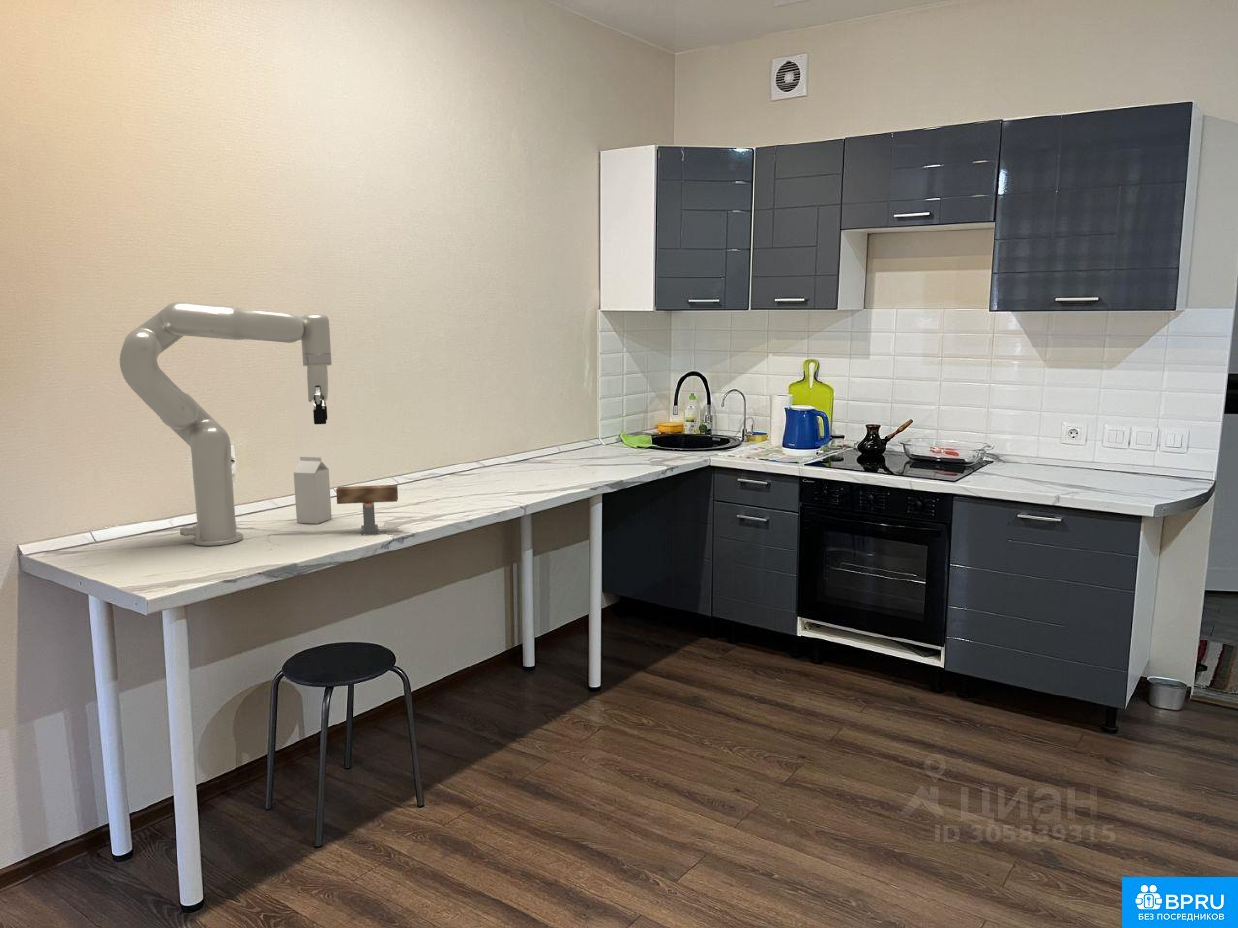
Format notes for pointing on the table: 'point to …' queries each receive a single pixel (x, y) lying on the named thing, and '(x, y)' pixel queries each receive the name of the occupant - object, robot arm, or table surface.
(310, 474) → the milk carton
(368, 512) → the ridge stand
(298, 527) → the table surface
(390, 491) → the walnut rod
